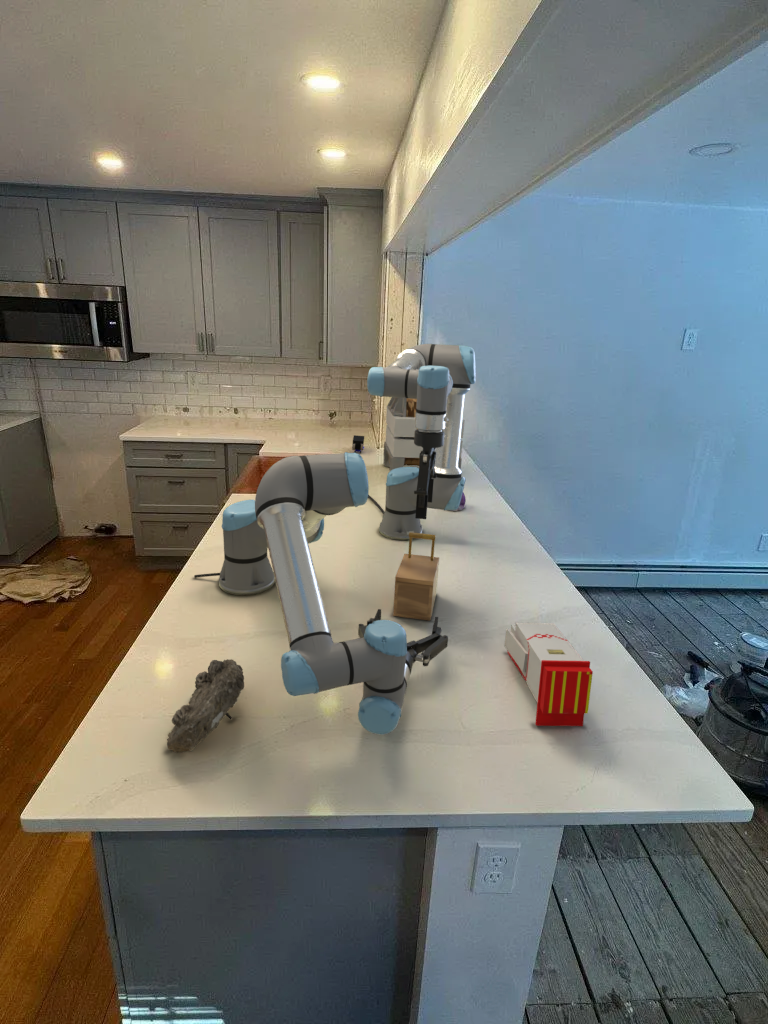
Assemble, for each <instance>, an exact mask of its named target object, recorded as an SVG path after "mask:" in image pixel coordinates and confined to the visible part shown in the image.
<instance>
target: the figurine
mask: <svg viewBox="0 0 768 1024" xmlns="http://www.w3.org/2000/svg"><path fill="white" fill-rule="evenodd" d="M466 503H467V502H466V496H465V492H463V493H462V497H461V501H460V505H459V507H458V509H457V510H450V511H451V512H452V511H453V512H457V511H462V510H463V509H465V505H466Z"/></svg>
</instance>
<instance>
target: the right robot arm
mask: <svg viewBox="0 0 768 1024" xmlns="http://www.w3.org/2000/svg"><path fill="white" fill-rule="evenodd" d="M476 369H477V368H476V353H475V350H474V348H473V347H471V346H467V345H461V344H441V343H439V344H438V343H421V344H417V345H413V346H411V347H408V348H406V349H404V350H402V351H400V352H399V354H397V357H396V359H395V360H394V361H392V362H391V363H390V364H389V365H388V366H386V367H384V366H372V367H371V368H370V369H369V370H368V374H367V381H366V384H367V385H366V386H367V393H368V394H369V395H371V396H376V397H380V398H382V397H385V398H392V397H399V398H411V399H417V406H416V414H415V428H416V430H415V433H414V444H415V445H417V446H419V447H420V446H421V447H422V448H423V451H421V453H420V455H419V459H420V462H419V466H418V467H417V466H404V467H400V468H396V469H393V470H391V471H390V470H389V472H388V473H387V475H386V482H385V504H384V505H385V507H384V508H385V509H383V507H382V506H381V505H380V504H379V503H378V501H376V500H375V498H373V497H372V496H371V495H370V494H368V499H369V500H371V502H373V503H374V505H375V506H377V508H378V509H379V510H380V512H381V513H382V514H383V515H382V519H381V522H379V527H378V533H379V534H380V535H381V536H382V537H385V538H387V539H389V540H395V541H409V532H413V533H422V534H423V525H422V524H421V520H427V515H428V509H434V510H443V511H451V510H457V509H458V507H459V505H460V501H461V497H462V493H464V488H465V484H466V477H465V476H462V475H463V472H462V469H461V470H460V469H459V468H458V460H459V450H460V439H461V440H462V438H461V429H462V419H464V408H465V407H464V406H465V397H466V394H467V393H468V392H469V391H470V390H471V385H475V384H476V375H477V374H476V372H477V371H476ZM457 511H458V510H457ZM415 539H416V538H412V540H415Z"/></svg>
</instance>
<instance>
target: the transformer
mask: <svg viewBox="0 0 768 1024" xmlns="http://www.w3.org/2000/svg"><path fill="white" fill-rule="evenodd" d="M416 406H417V399H411V398H399V397H390V400H389V402H388V404H387V405H386V413H385V414H386V415H385V423H386V428H385V438H384V442H383V466H384V467H388V468H389V472H390V471H391V470H393V469H396V468H400V467H405V466H406V467H417V466H418V467H419V462H420V459H419V455H420V453H421V451H423V448H422V447H421V446H420V447H419V446H417V445H415V444H414V433H415V430H416V428H415V414H416ZM464 429H465V419H464V418H463V419H462V429H461V439H460V450H459V460H458V468H459V469H460V470H461V471H462V461H463V460H462V453H463V442H464V441H463V440H462V439H463V438H464V431H465V430H464Z"/></svg>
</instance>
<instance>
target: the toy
mask: <svg viewBox="0 0 768 1024" xmlns="http://www.w3.org/2000/svg"><path fill="white" fill-rule="evenodd" d="M503 645H504V647H505V649H506V650H507V655H508V656H509V658H510V659H511V662H513V664H514V666H515V667H516V669H517V670H518V672H519V673H520V675H521V676H522V679H523V680H524V681H525V683H526V686H527V687H528V689H529V690H530V693H531V694H532V696H533V698H534V700H535V701H536V703H537V704H536V714H535V722H534V723H535V726H537V727H541V726H542V727H583V726H584V719H585V715H586V714H587V715H588V714H589V706H590V705H589V704H590V699H591V691H592V683H593V682H592V681H593V674H594V673H593V672H594V671H593V670H592V669H591V668H590V667H591V661H590V660H584V659H583V658H582V657H581V655H580V654H579V653H578V651H577V650H576V649H575V648H574V647H573V645H572V644H571V643H570V642H569V640H568V639H567V638H566V636H564V633H562V632H561V630H560V629H559V628H558V627H557V625H556V624H555V623H553V622H515V624H511V625H510V628H506V630H505V638H504V644H503Z"/></svg>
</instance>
